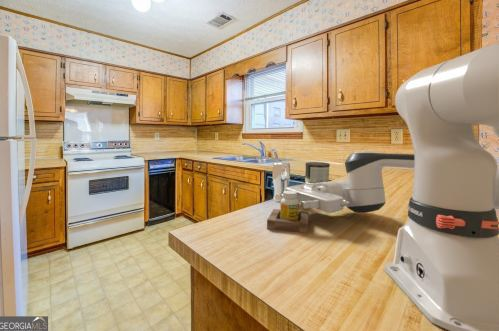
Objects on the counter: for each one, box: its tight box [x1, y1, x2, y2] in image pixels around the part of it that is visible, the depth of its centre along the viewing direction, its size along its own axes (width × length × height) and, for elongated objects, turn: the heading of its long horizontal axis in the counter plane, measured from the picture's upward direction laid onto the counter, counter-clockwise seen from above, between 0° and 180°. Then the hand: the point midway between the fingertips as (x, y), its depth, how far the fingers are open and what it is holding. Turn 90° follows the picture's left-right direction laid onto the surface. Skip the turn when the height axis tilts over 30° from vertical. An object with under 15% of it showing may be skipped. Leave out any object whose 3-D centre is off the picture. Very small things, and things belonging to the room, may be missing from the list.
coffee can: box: [304, 161, 331, 184], centre depth 110 cm, size 10×10×14 cm
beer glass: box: [272, 162, 291, 203], centre depth 100 cm, size 7×7×15 cm
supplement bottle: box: [280, 191, 300, 220], centre depth 73 cm, size 5×5×10 cm
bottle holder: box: [266, 208, 310, 234], centre depth 73 cm, size 11×11×2 cm
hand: (291, 200), depth 73 cm, fingers open, 8 cm apart
